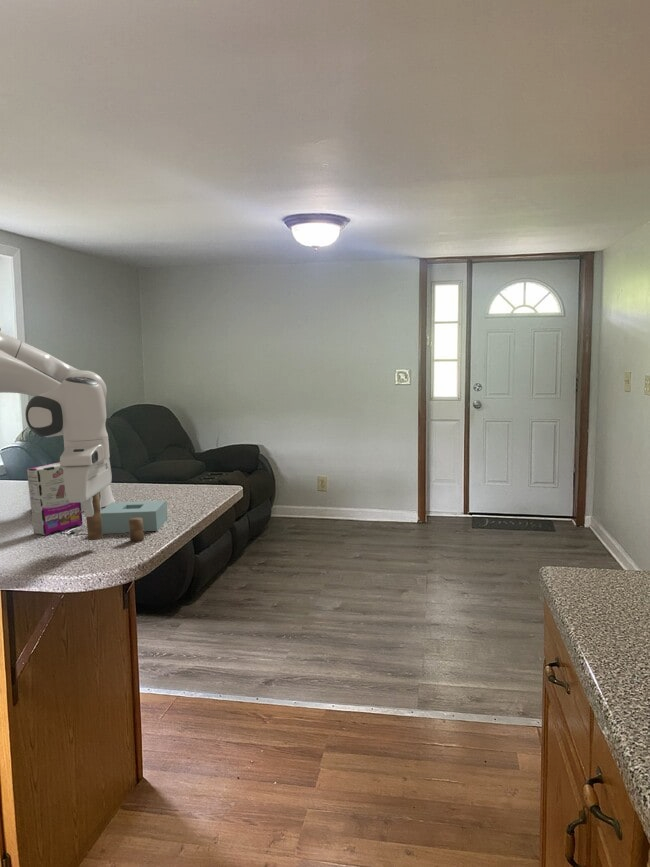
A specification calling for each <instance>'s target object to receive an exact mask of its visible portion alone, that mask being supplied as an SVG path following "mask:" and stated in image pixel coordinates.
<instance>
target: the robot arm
mask: <svg viewBox="0 0 650 867" xmlns="http://www.w3.org/2000/svg"><path fill="white" fill-rule="evenodd" d="M107 388H108V387H107V385H106V382H105V381H104V379H103V378H102V377H101V376H100V375H99V374H97V373H96V372H94V371H91V370H81V369H78V368H76V367H74V366H72V365H70V364H68V363H66V362H65V361H63V360H60V359H59V358H56V357H55V356H53V355H51V353H48V352H46V351H44V350H41V349H39V348H38V347H35V346H32V345H30V344H29V343H26V342H25V341H22V340H20V339H18V338H16V337H14V336H10V335H8V334H5V333H2V332H1V327H0V393H4V394H5V393H9V394H11V393H12V394H23V395H27V396H30V397H32V398H31V399H30V400H29V401H28V403H27V405H26V408H25V414H24V415H25V420H26V421H25V422H26V424H27V426H28V428H29V430H31V433H34V434H35V435H36V436H38V437H42V438H43V437H44V438H53V437H54V438H55V437H58V436H63V446H64V448H63V452H62V453H61V455H60V456H59V460H58V462H57V463H60V465H61V466H65V467H64V470H63V477H64V485H65V492H66V497H67V499H68V501H69V502H70V503H78V502H81V512H84V517H92V516H93V515H94V514H95V508H94V507H93V503H92V501H93V496H94V495H95V494H97V493H98V492H99V501H100V511H101V510H102V508H105V507H107V506H108V505H109V504H111V503H112V502H116V500H115V498H114V494H113V492H112V487H111V484H112V481H113V480H112V479H113V478H112V476H113V475H112V468H111V461H110V457H111V456H110V442H109V434H108V431H107V427H106V422H107V415H108V414H107V406H106V403H107V402H106V400H107V398H106V397H107V392H108V391H107V390H108V389H107Z"/></svg>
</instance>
